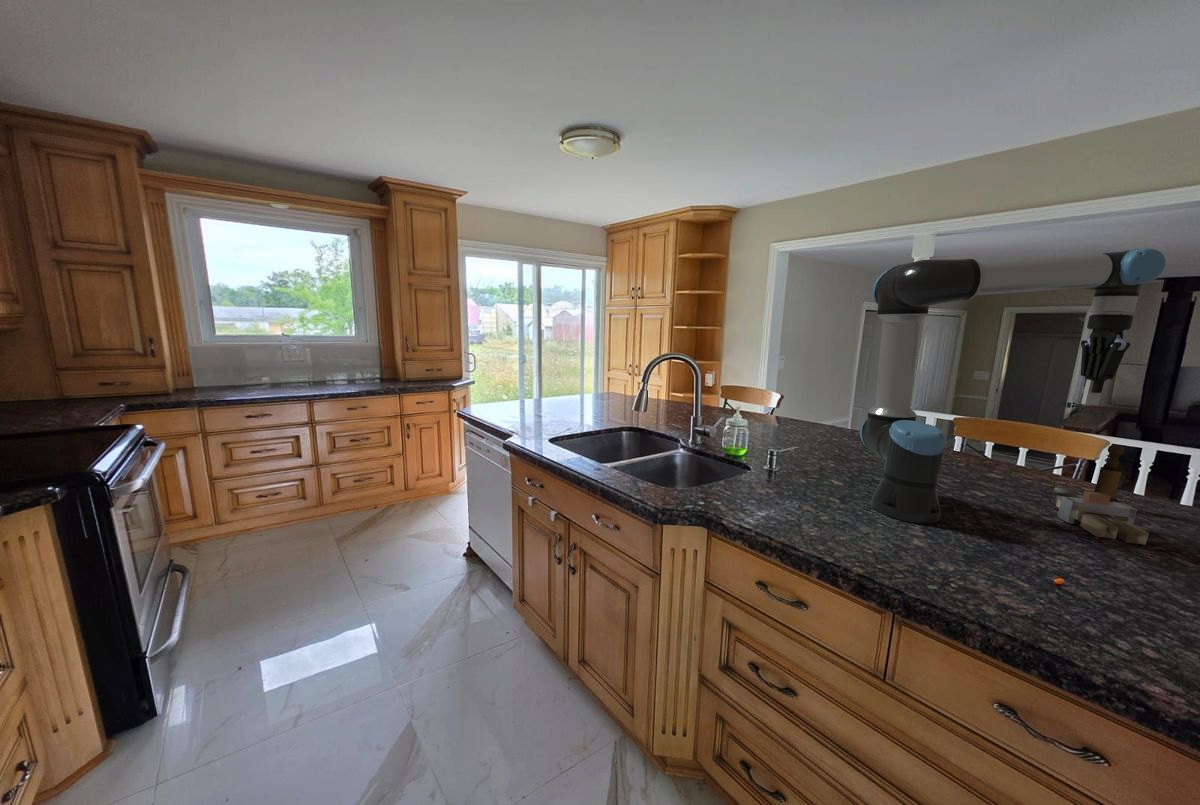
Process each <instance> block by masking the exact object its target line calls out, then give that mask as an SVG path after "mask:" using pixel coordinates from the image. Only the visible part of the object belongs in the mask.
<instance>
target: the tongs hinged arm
mask: <svg viewBox="0 0 1200 805" xmlns="http://www.w3.org/2000/svg"><path fill="white" fill-rule="evenodd" d="M1053 493H1055V494H1056V495H1057V494H1060V495H1064V496H1070V497H1075V498H1077V494H1078V492H1077V491H1076V490H1072V489H1070V488H1066V487H1059V486H1058V487H1057V486H1056V487H1054V488H1053ZM1061 499H1062V496H1058V499H1057V503H1056V505H1055V506H1056V507H1057V508H1058V509H1059V507H1060V503H1061ZM1075 520H1077V521H1078V522H1079V523H1080V524H1079V526H1080V527H1081V528H1083V529H1084V530H1086V531H1087V532H1089V533H1090V534H1092V535H1093V536H1095V537H1097V538H1105V539H1112V540H1116V539H1117V537H1116V536H1117V532H1118V528H1119V527H1117V526H1115V525H1114V524H1112V523H1110V522H1109V521H1107V520H1105V519H1104V518H1102V517H1100V516H1099V515H1097V514H1095V513H1091V512H1084V511H1077V512H1076V516H1075Z"/></svg>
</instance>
